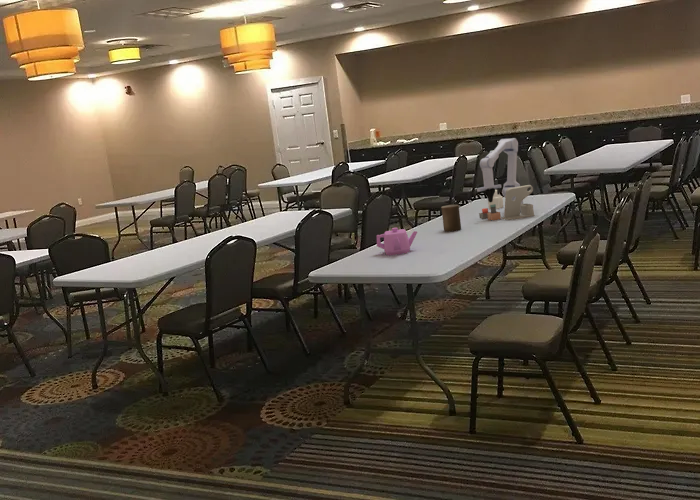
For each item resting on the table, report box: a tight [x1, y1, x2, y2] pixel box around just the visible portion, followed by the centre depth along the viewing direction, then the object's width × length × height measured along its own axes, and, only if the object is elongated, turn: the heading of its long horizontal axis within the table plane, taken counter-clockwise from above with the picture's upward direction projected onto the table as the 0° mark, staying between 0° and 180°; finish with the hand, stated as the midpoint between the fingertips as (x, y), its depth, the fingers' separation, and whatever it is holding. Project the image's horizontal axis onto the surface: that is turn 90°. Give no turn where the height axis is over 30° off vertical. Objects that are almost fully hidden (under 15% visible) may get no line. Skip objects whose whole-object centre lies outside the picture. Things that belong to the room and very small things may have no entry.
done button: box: [481, 207, 489, 214], centre depth 430 cm, size 3×3×3 cm
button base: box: [478, 211, 491, 220], centre depth 430 cm, size 6×6×3 cm
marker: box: [490, 204, 497, 214], centre depth 420 cm, size 3×3×8 cm
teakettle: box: [376, 227, 418, 256], centre depth 363 cm, size 17×17×12 cm
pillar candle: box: [441, 204, 462, 232], centre depth 404 cm, size 10×10×15 cm
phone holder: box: [500, 184, 535, 221], centre depth 417 cm, size 17×10×18 cm, turn 105°
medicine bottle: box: [487, 188, 504, 210], centre depth 462 cm, size 7×7×12 cm
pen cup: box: [487, 210, 502, 221], centre depth 421 cm, size 6×6×4 cm
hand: (490, 201), depth 422 cm, fingers closed
